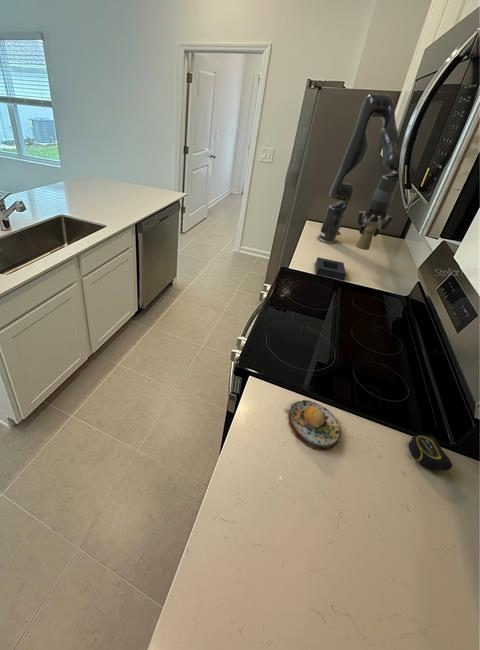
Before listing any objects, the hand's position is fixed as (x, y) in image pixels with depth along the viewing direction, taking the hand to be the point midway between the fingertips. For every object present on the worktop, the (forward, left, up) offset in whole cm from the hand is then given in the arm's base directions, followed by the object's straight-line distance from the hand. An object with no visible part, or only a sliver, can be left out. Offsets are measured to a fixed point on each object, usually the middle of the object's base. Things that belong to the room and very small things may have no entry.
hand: (367, 234), depth 144 cm
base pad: (+12, -13, -17) cm, 25 cm away
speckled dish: (+100, -22, -18) cm, 104 cm away
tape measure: (+98, +3, -18) cm, 100 cm away
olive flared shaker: (0, 0, -7) cm, 7 cm away
